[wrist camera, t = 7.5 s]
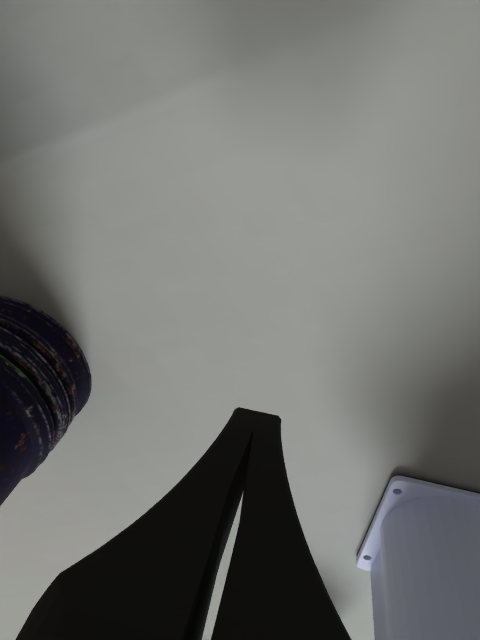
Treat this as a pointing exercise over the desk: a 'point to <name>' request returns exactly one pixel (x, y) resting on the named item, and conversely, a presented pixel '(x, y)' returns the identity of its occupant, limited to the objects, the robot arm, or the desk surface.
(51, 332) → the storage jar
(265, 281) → the desk surface
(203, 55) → the desk surface
